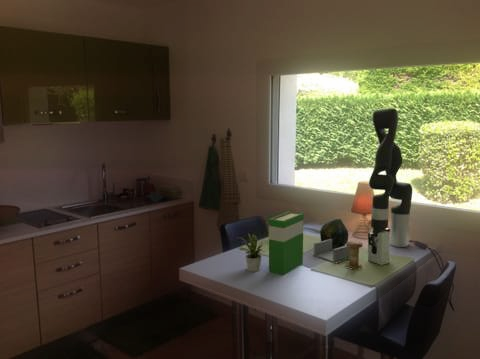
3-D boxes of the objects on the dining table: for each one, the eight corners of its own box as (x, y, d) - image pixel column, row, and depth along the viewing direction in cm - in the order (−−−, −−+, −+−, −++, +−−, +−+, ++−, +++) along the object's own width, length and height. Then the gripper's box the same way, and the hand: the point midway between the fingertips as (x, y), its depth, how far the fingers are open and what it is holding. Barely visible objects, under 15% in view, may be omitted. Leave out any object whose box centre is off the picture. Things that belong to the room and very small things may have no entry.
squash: (310, 233, 229) (326, 216, 220) (327, 229, 239) (343, 213, 230) (325, 255, 222) (342, 238, 213) (342, 250, 232) (359, 234, 223)
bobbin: (352, 262, 200) (353, 240, 198) (364, 267, 194) (365, 243, 193) (342, 266, 196) (343, 242, 194) (355, 270, 190) (355, 246, 189)
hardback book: (288, 260, 204) (289, 211, 200) (302, 263, 199) (303, 213, 195) (268, 272, 189) (269, 219, 186) (283, 275, 185) (283, 221, 181)
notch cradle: (329, 250, 218) (329, 238, 217) (352, 257, 207) (352, 245, 206) (313, 255, 211) (313, 243, 210) (335, 263, 200) (335, 250, 199)
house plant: (231, 265, 197) (230, 231, 195) (258, 261, 203) (258, 227, 200) (243, 276, 184) (243, 239, 182) (272, 271, 190) (272, 235, 187)
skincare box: (389, 263, 199) (391, 232, 197) (381, 265, 196) (382, 234, 194) (375, 258, 206) (376, 228, 204) (366, 260, 203) (367, 230, 201)
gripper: (382, 213, 205) (380, 247, 208) (363, 218, 196) (362, 253, 199) (396, 216, 199) (394, 251, 202) (377, 221, 191) (375, 257, 193)
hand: (378, 252), depth 200 cm, fingers closed on skincare box, 6 cm apart
